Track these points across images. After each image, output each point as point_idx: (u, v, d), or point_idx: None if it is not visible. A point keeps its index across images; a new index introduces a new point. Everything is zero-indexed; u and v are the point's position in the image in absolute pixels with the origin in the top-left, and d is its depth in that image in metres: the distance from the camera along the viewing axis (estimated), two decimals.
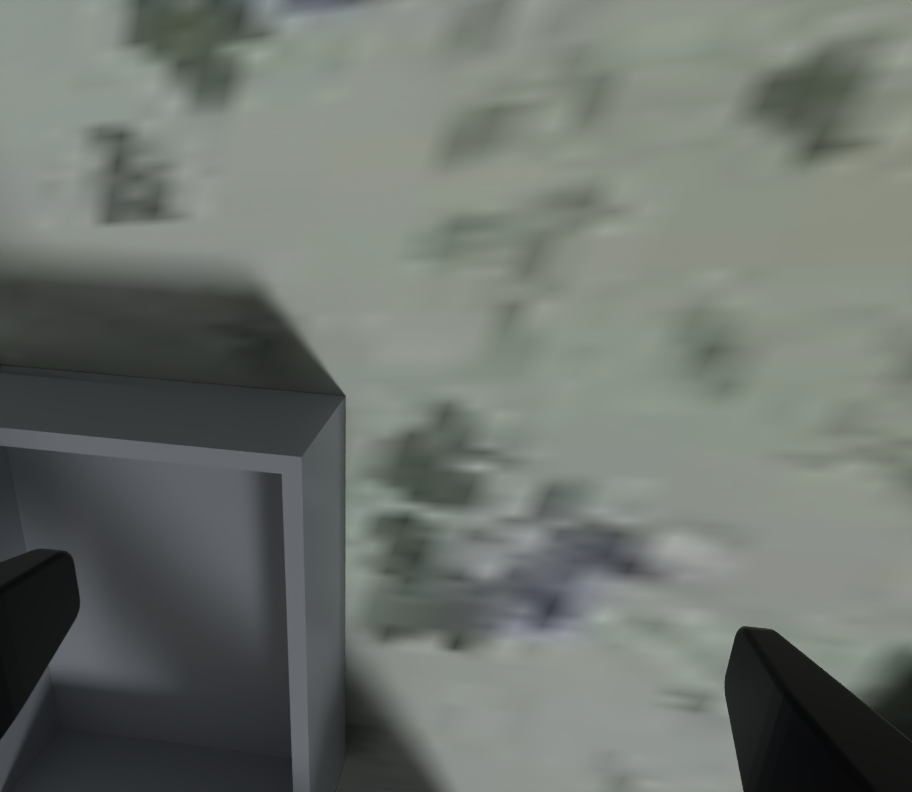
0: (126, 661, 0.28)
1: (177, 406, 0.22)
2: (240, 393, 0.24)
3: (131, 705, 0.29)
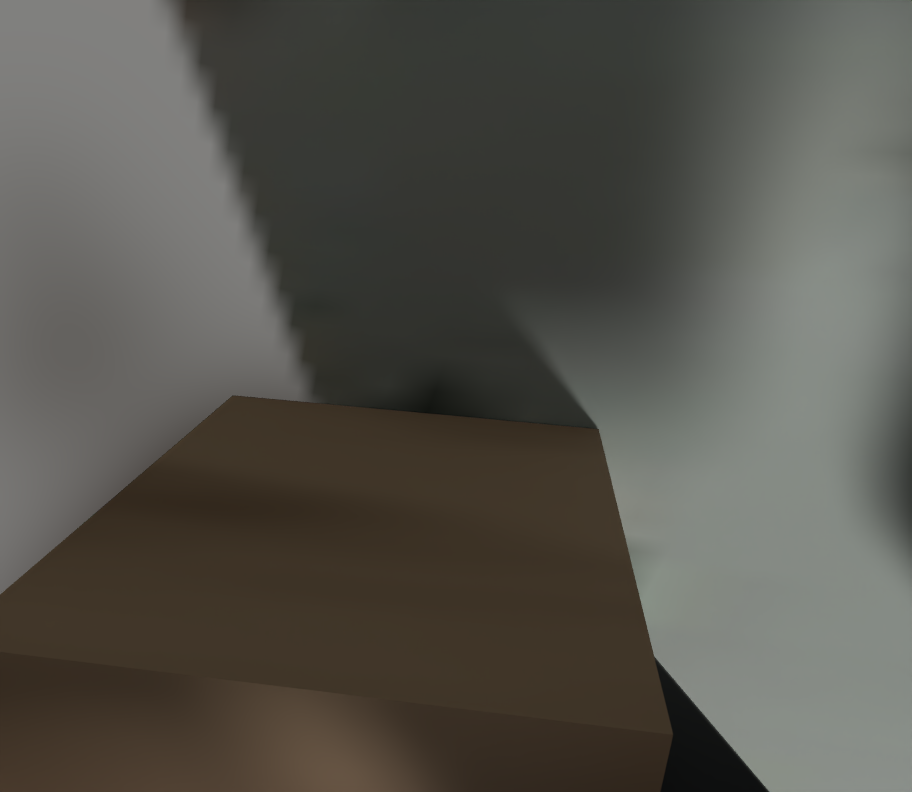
0: None
1: None
2: None
3: None
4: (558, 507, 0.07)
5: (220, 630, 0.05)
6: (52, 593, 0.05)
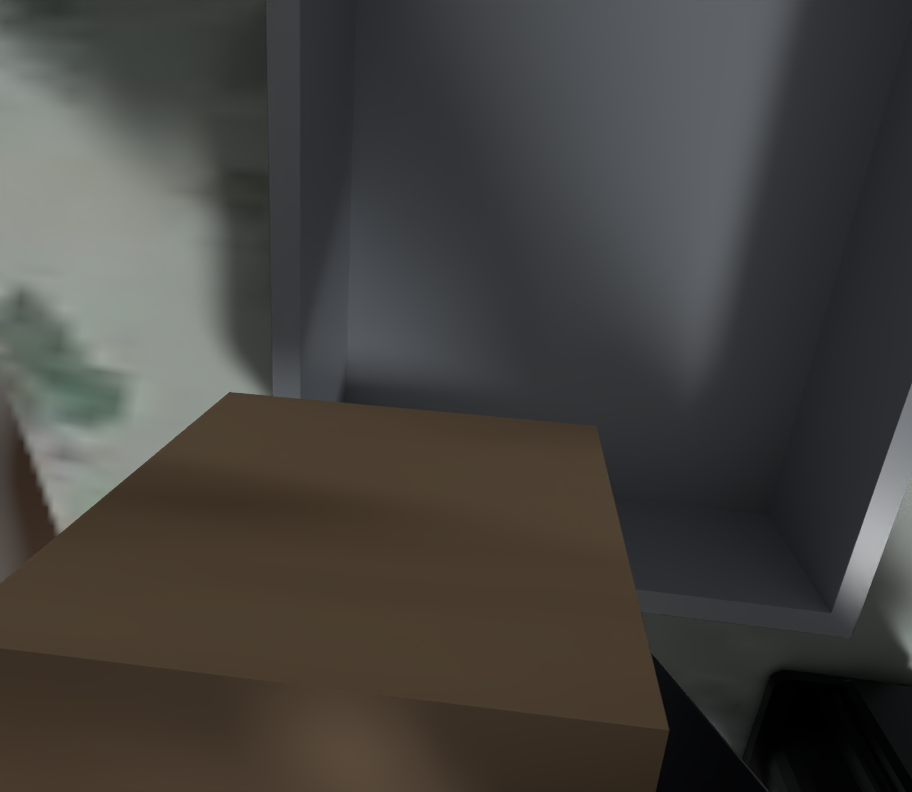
0: (479, 338, 0.18)
1: None
2: None
3: None
4: (555, 504, 0.07)
5: (214, 626, 0.05)
6: (47, 588, 0.05)
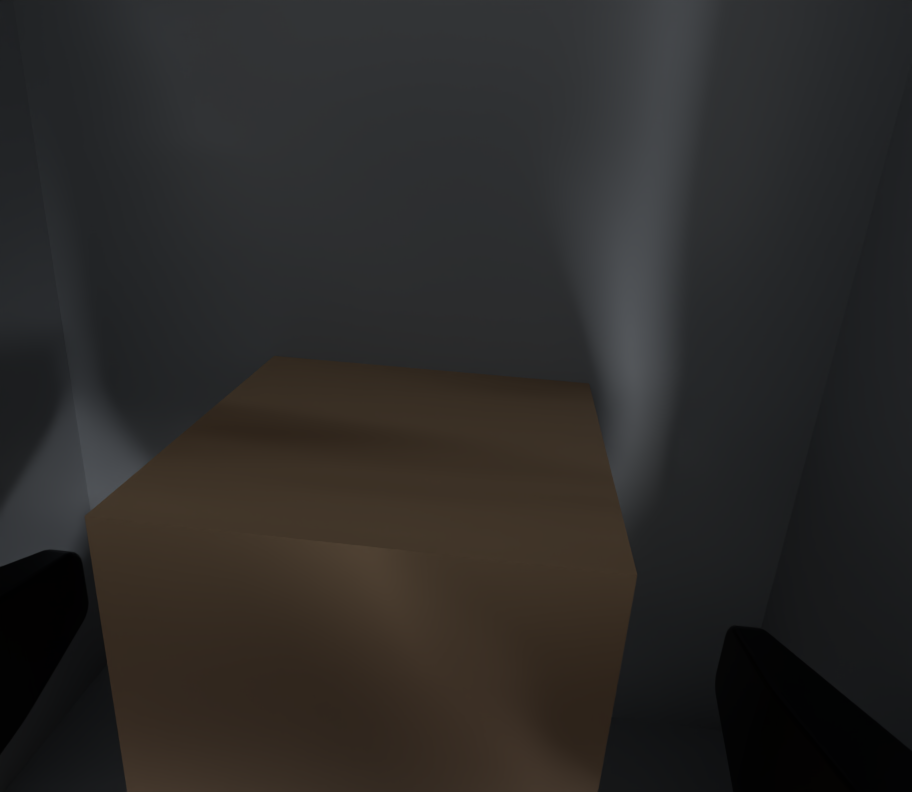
0: None
1: None
2: None
3: None
4: (554, 437, 0.09)
5: (293, 510, 0.07)
6: (159, 485, 0.07)
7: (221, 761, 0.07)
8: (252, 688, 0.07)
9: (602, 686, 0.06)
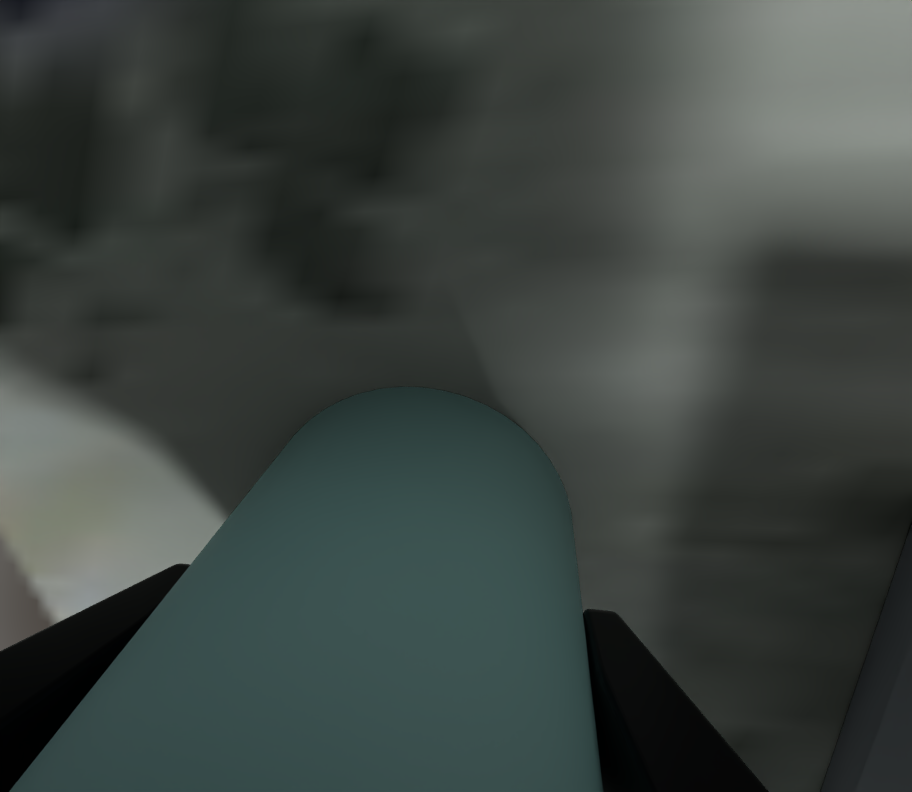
0: None
1: None
2: None
3: None
4: None
5: None
6: None
7: None
8: None
9: None
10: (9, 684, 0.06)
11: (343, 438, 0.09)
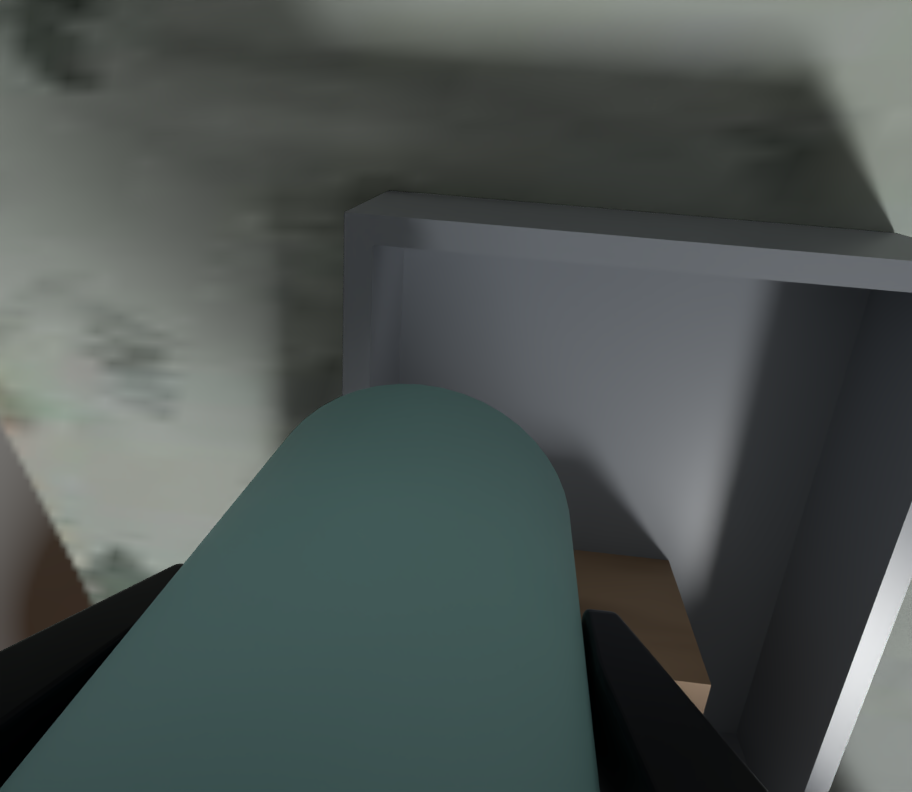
0: None
1: (721, 228, 0.16)
2: (764, 224, 0.17)
3: None
4: (662, 605, 0.19)
5: None
6: None
7: None
8: None
9: None
10: (9, 684, 0.06)
11: (340, 435, 0.09)
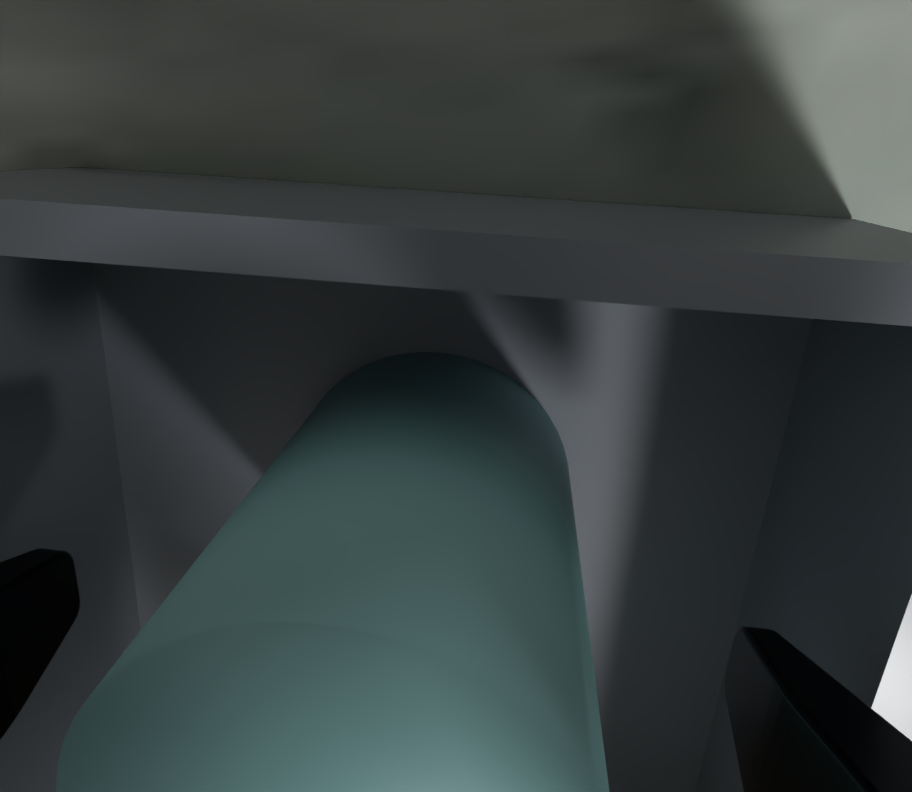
0: None
1: (545, 211, 0.09)
2: (638, 207, 0.11)
3: None
4: None
5: None
6: None
7: None
8: None
9: None
10: None
11: (373, 391, 0.10)
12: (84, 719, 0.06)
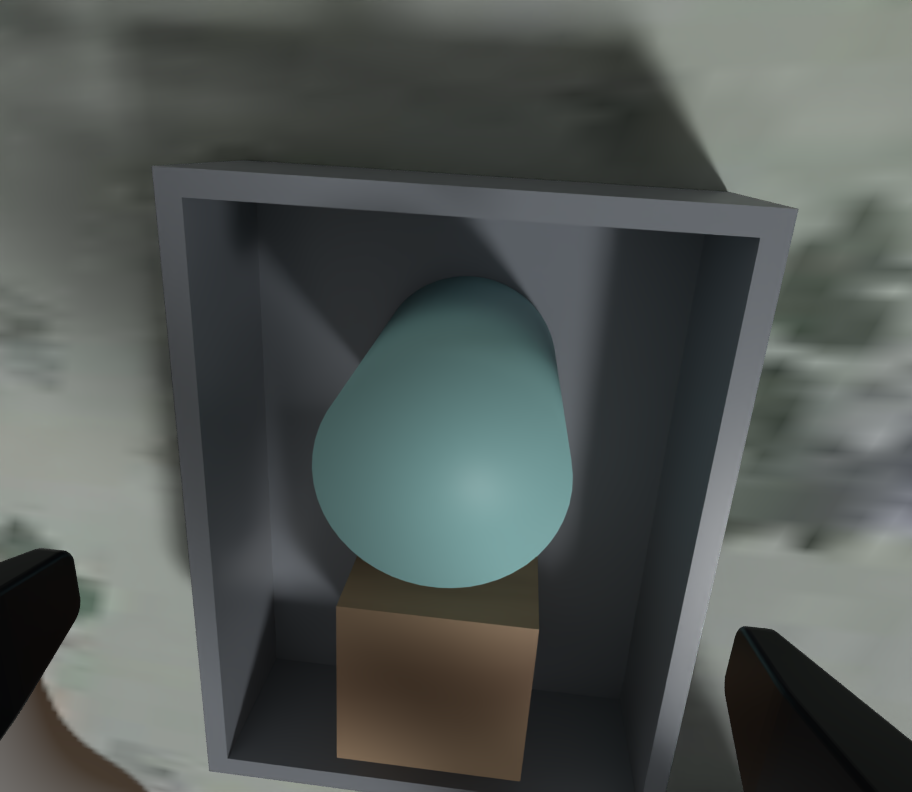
0: None
1: (539, 183, 0.16)
2: (595, 184, 0.18)
3: None
4: None
5: (411, 602, 0.17)
6: (356, 591, 0.17)
7: (378, 700, 0.18)
8: (393, 671, 0.17)
9: (528, 670, 0.17)
10: None
11: (436, 293, 0.17)
12: (331, 412, 0.13)
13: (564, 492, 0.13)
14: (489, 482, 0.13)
